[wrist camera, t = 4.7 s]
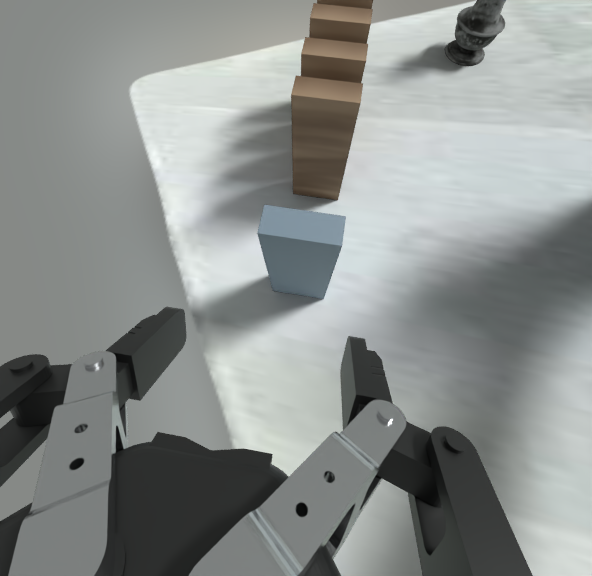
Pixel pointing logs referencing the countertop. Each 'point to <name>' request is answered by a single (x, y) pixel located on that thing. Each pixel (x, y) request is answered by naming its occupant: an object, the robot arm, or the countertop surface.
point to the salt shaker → (475, 31)
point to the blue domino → (300, 249)
